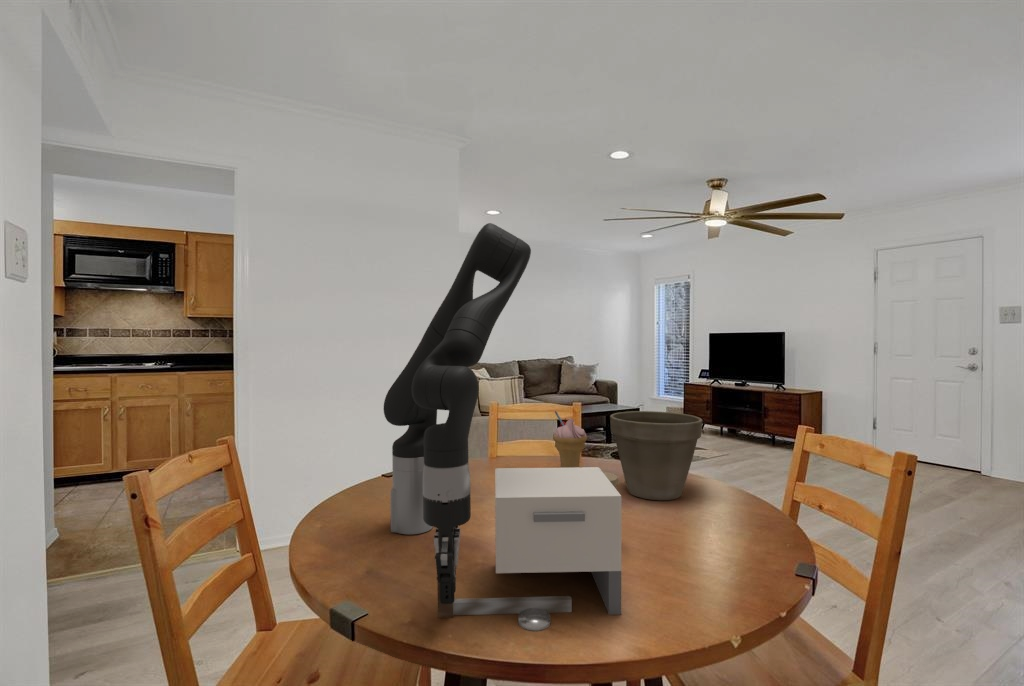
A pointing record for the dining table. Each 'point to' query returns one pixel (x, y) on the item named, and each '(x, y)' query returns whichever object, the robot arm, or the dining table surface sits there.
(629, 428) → the plant pot
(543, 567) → the cabinet
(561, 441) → the ice cream cone
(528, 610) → the ball
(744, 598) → the dining table surface
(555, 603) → the blade tool
